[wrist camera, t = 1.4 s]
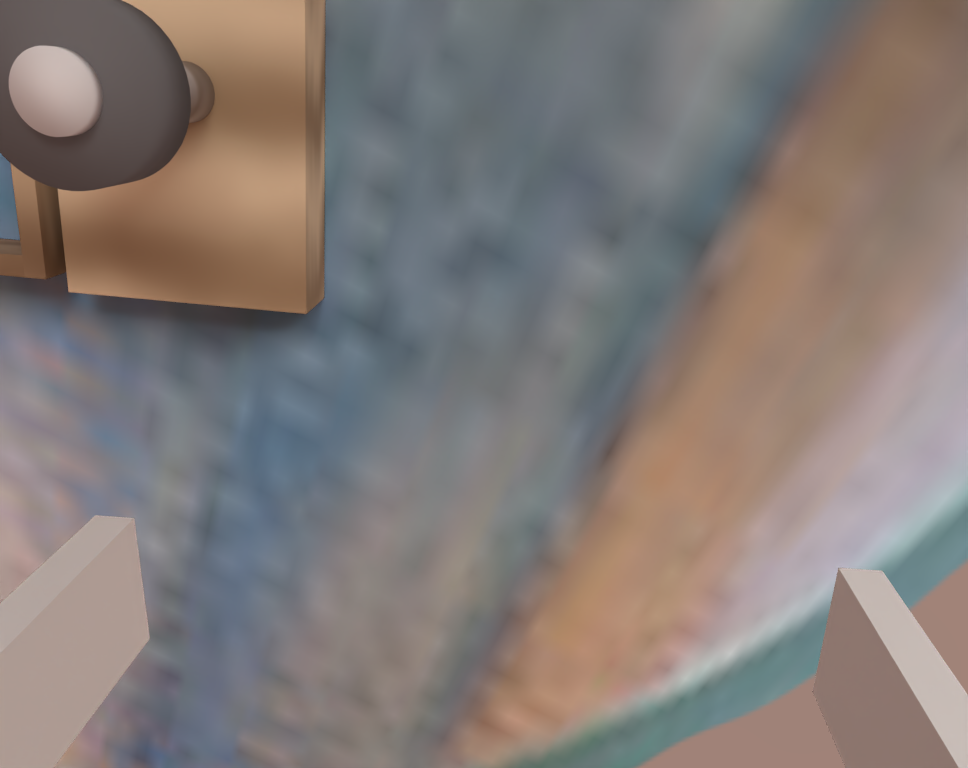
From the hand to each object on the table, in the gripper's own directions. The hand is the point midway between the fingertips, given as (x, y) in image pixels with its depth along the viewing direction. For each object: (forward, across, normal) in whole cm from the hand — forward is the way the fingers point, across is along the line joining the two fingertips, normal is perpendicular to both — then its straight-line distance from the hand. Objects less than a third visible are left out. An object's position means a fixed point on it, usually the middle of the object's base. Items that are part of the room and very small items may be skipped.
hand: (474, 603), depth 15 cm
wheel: (+15, -14, +9) cm, 22 cm away
